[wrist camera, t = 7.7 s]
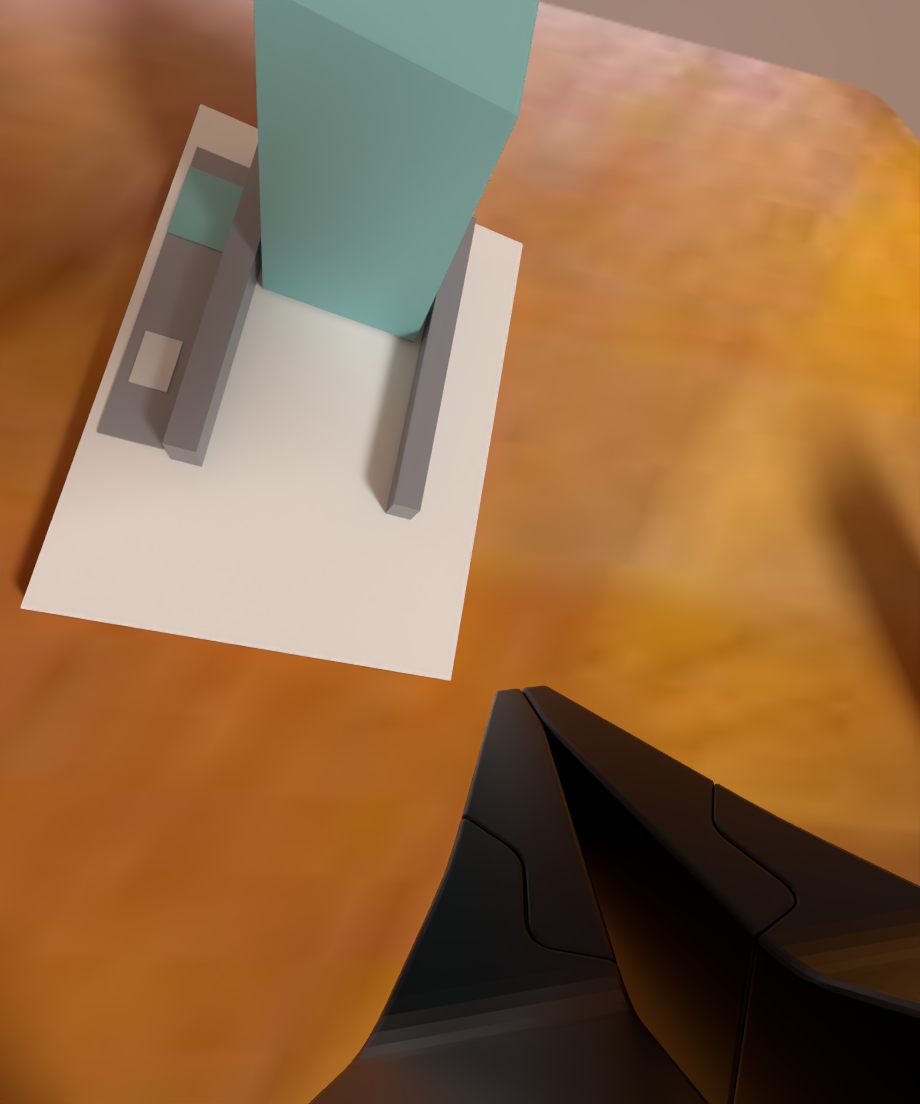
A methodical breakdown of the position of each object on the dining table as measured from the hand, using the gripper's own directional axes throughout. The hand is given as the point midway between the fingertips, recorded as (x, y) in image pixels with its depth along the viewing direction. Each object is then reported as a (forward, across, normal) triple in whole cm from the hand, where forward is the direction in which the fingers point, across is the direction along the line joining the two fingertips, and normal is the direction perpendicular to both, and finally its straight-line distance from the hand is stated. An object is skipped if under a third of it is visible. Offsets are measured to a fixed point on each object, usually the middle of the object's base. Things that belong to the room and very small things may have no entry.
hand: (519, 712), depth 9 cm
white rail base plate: (+15, +4, -5) cm, 17 cm away
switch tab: (+17, +3, -10) cm, 19 cm away
